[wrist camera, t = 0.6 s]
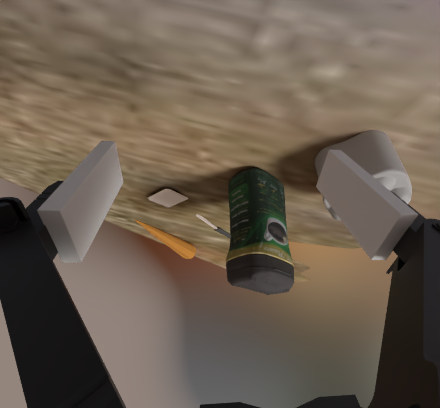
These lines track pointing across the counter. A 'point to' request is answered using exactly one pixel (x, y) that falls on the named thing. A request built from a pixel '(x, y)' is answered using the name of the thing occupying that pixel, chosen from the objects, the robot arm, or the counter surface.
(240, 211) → the coffee jar
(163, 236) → the carrot
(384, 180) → the lumpy-topped squat cylinder
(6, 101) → the counter surface
